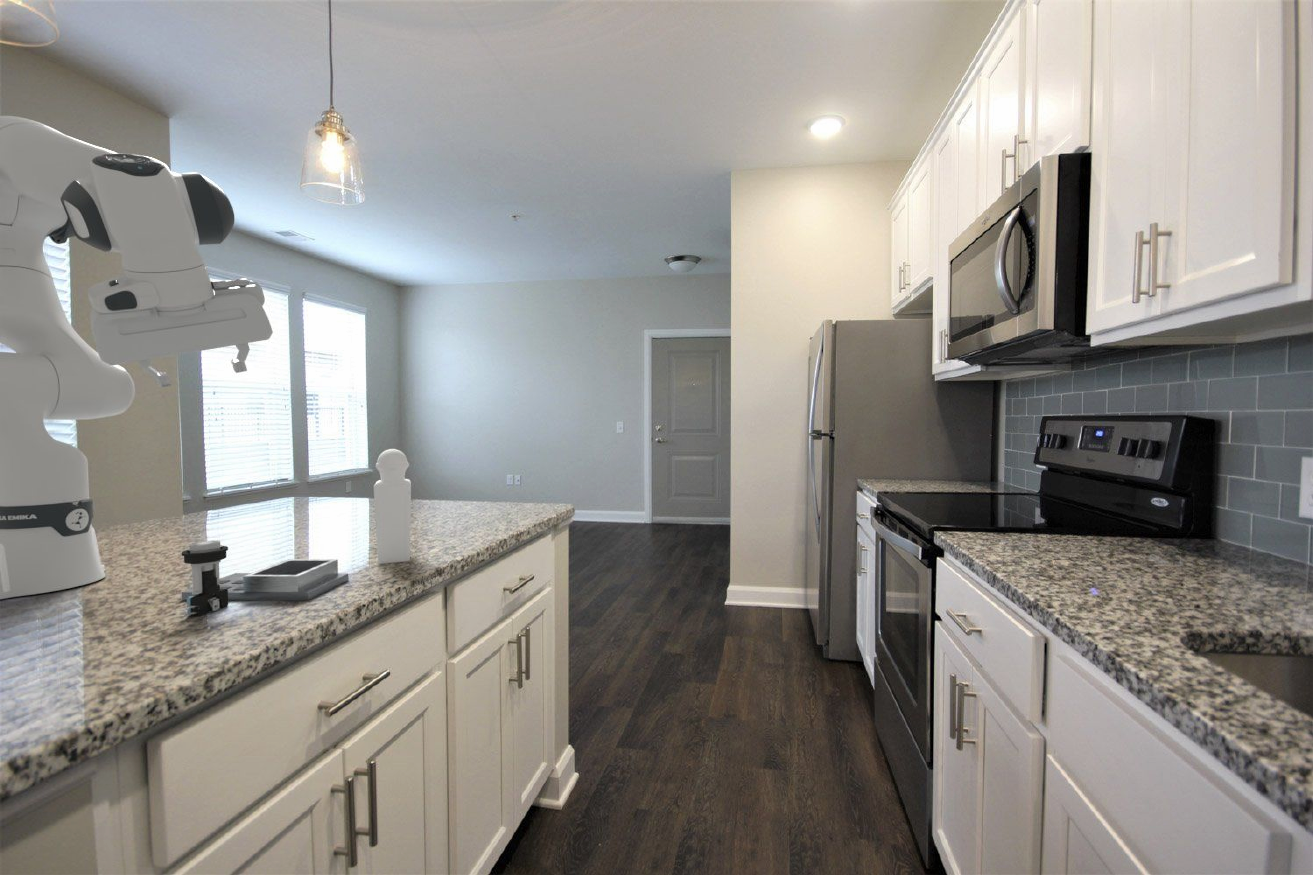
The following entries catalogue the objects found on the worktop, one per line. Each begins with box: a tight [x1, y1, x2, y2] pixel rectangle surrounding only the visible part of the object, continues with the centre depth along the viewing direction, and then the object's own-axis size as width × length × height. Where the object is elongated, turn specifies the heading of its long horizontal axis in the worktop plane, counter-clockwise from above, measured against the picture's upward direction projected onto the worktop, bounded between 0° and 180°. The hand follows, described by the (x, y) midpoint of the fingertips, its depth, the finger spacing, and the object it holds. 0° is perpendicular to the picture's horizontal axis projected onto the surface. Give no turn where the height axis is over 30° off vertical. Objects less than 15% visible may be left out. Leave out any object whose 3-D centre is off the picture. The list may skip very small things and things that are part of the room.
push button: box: [179, 540, 229, 618], centre depth 84 cm, size 7×5×10 cm
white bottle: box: [373, 448, 412, 565], centre depth 114 cm, size 6×6×22 cm
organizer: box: [181, 558, 349, 601], centre depth 95 cm, size 20×11×4 cm, turn 88°
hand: (203, 378), depth 87 cm, fingers open, 8 cm apart
